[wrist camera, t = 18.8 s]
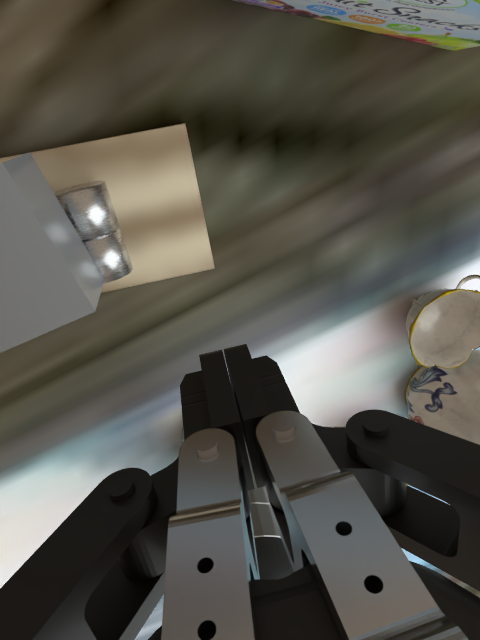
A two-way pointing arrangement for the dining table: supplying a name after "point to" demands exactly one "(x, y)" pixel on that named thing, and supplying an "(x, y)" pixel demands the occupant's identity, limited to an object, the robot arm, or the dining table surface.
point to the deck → (141, 197)
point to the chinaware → (446, 361)
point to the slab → (39, 258)
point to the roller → (97, 227)
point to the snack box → (395, 18)
